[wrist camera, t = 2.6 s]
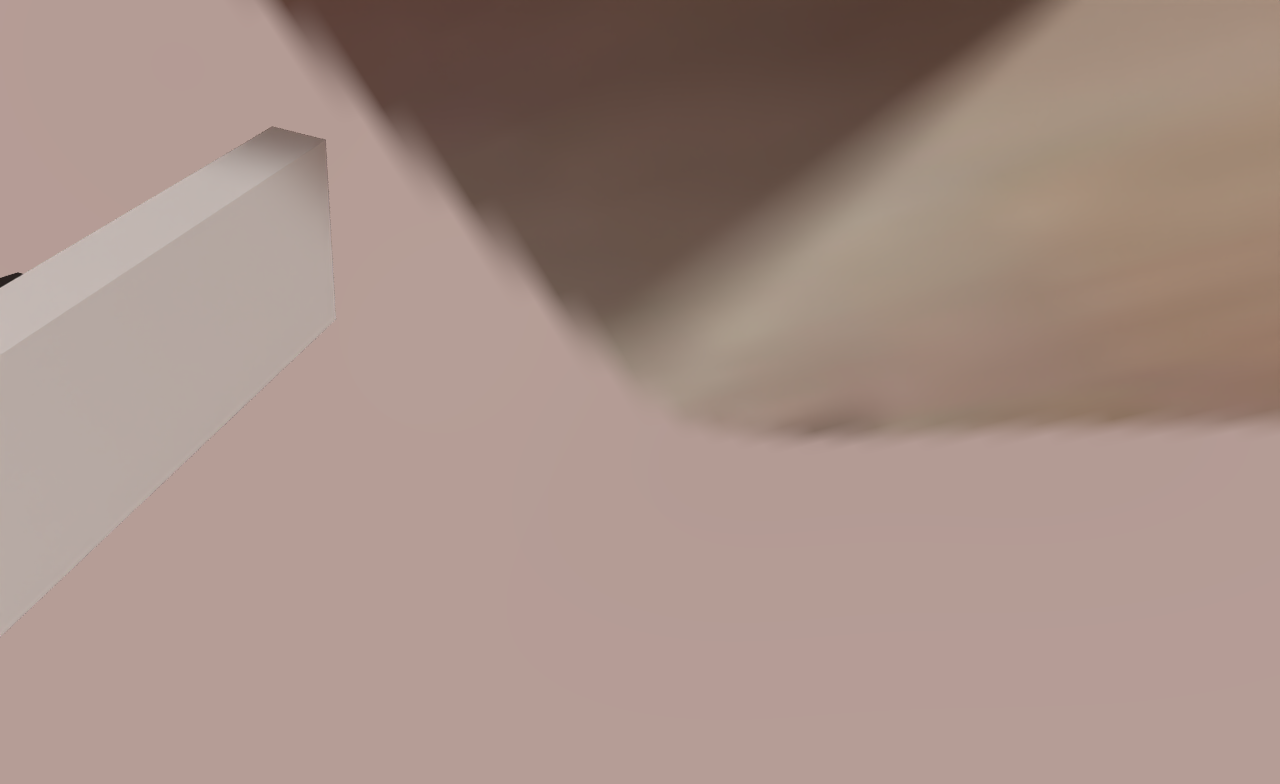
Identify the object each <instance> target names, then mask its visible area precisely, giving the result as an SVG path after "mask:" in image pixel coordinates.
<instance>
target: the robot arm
mask: <svg viewBox="0 0 1280 784" xmlns="http://www.w3.org/2000/svg"><path fill="white" fill-rule="evenodd" d="M330 225H331V224H330V207H329V190H328V173H327V155H326V140H324V139H320V138H316V137H312V136H308V135H304V134H300V133H296V132H292V131H288V130H284V129H280V128H276V127H271V128H269V129H267V130H265V131H264V132H262V133H261V134H259V135H257V136H255V137H254V138H252V139H250V140H249V141H247V142H245V143H244V144H242V145H240V146H238V147H237V148H235V149H234V150H232V151H230V152H228V153H227V154H225V155H223V156H222V157H220V158H218V159H217V160H215V161H213V162H212V163H210V164H208V165H206V166H205V167H203V168H201V169H200V170H198V171H196V172H195V173H193V174H191V175H190V176H188V177H186V178H185V179H183V180H181V181H180V182H178V183H176V184H175V185H173V186H171V187H170V188H168V189H166V190H164V191H163V192H161V193H159V194H158V195H156V196H155V197H153V198H151V199H149V200H147V201H146V202H144V203H143V204H141V205H139V206H137V207H136V208H134V209H133V210H131V211H129V212H127V213H126V214H124V215H122V216H121V217H119V218H117V219H116V220H114V221H112V222H110V223H109V224H107V225H105V226H104V227H102V228H100V229H99V230H97V231H95V232H94V233H92V234H90V235H88V236H87V237H85V238H83V239H82V240H80V241H78V242H77V243H75V244H73V245H72V246H70V247H68V248H67V249H65V250H63V251H62V252H60V253H58V254H56V255H55V256H53V257H51V258H50V259H48V260H46V261H45V262H43V263H41V264H40V265H38V266H36V267H35V268H33V269H31V270H29V271H28V272H26V273H24V274H22V273H15V274H11V275H8V276H5V277H2V278H0V637H1V636H2V635H3V634H4V633H5V632H6V631H7V630H8V629H10V628H11V627H12V626H13V625H14V624H15V623H16V622H17V621H18V620H19V619H20V618H21V617H22V616H23V615H24V614H25V613H26V612H28V611H29V610H30V609H31V608H32V607H33V606H34V605H35V604H36V603H37V602H38V601H39V600H40V599H41V598H42V597H43V596H44V595H45V594H47V593H48V592H49V591H50V590H51V589H52V588H53V587H54V586H55V585H56V584H57V583H58V582H59V581H60V580H61V579H62V578H63V577H64V576H66V575H67V573H69V572H70V571H71V570H72V569H73V568H74V567H75V566H76V565H77V564H78V563H79V562H80V561H81V560H82V559H83V558H84V557H86V556H87V555H88V554H89V553H90V552H91V551H92V550H93V549H94V548H95V547H96V546H97V545H98V544H99V543H100V542H101V541H102V540H103V539H104V538H105V537H107V536H108V535H109V534H110V533H111V532H112V531H113V530H114V529H115V528H116V527H117V526H118V525H119V524H120V523H121V522H123V521H124V520H125V519H126V518H127V517H128V516H129V515H130V514H131V513H132V512H133V511H134V510H135V509H136V508H137V507H138V506H139V505H140V504H142V503H143V502H144V501H145V500H146V499H147V498H148V497H149V496H150V495H151V494H152V493H153V492H154V491H155V490H156V489H157V488H158V487H159V486H160V485H162V484H163V483H164V482H165V481H166V480H167V479H168V478H169V477H170V476H171V475H172V474H173V473H174V472H175V471H176V470H177V469H178V468H179V467H181V466H182V465H183V464H184V463H185V462H186V461H187V460H188V459H189V458H190V457H191V456H192V455H193V454H194V453H195V452H196V451H197V450H199V449H200V448H201V447H202V446H203V445H204V444H205V443H206V442H207V441H208V440H209V439H210V438H211V437H212V436H213V435H214V434H215V433H216V432H218V431H219V430H220V429H221V428H222V427H223V426H224V425H225V424H226V423H227V422H228V421H229V420H230V419H231V418H232V417H233V416H234V415H235V414H237V413H238V411H240V410H241V409H242V408H243V407H244V406H245V405H246V404H247V403H248V402H249V401H250V400H251V399H252V398H253V397H254V396H256V394H258V393H259V392H260V391H261V390H262V389H263V388H264V387H265V386H266V385H267V384H268V383H269V382H270V381H271V380H272V379H274V378H275V376H277V375H278V374H279V373H280V372H281V371H282V370H283V369H284V368H285V367H286V366H287V365H288V364H289V363H290V362H291V361H292V360H293V359H295V358H296V357H297V356H298V355H299V354H300V353H301V352H302V351H303V350H304V349H305V348H306V347H307V346H308V345H309V344H310V343H312V342H313V340H314V339H316V338H317V337H318V336H319V335H320V334H321V333H322V332H323V331H324V330H325V329H326V328H327V327H328V326H329V325H331V323H332V322H334V321H335V320H336V310H335V293H334V277H333V258H332V241H331V226H330Z"/></svg>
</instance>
